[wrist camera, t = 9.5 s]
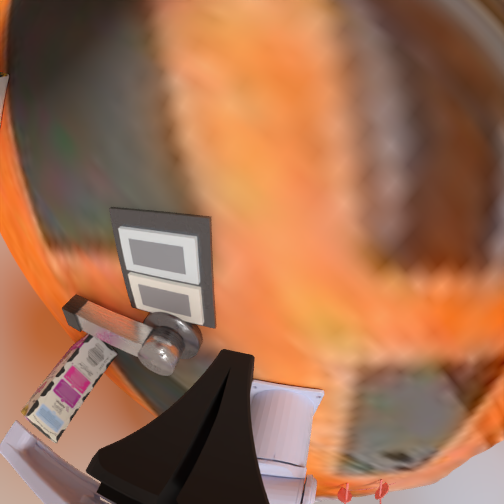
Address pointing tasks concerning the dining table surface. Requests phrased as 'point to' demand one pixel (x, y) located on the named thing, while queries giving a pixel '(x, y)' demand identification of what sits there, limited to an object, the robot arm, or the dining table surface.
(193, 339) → the pivot base
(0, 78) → the medicine bottle
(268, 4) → the dining table surface
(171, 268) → the label
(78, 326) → the door handle
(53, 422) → the candy bar box
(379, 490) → the figurine
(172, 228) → the plate
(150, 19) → the dining table surface
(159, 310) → the label
